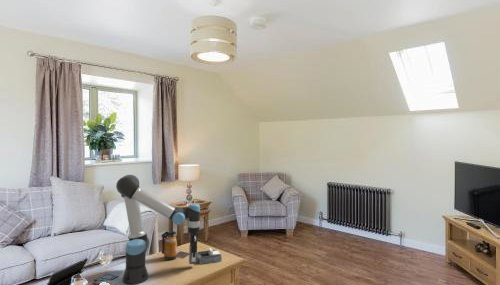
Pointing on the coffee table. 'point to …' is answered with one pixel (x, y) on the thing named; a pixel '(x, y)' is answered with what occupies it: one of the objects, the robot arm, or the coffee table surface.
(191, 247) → the plug
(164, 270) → the coffee table surface
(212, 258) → the socket
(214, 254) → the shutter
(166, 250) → the canister
